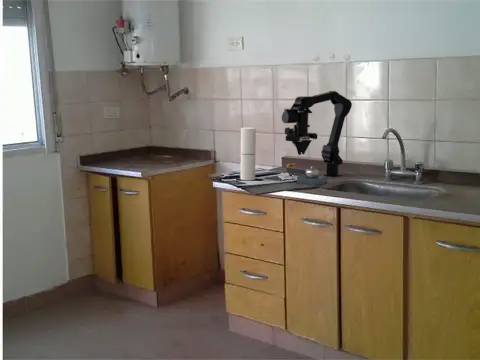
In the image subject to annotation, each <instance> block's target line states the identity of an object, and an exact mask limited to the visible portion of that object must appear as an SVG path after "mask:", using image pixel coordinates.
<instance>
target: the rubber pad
mask: <svg viewBox="0 0 480 360" xmlns="http://www.w3.org/2000/svg"><path fill="white" fill-rule="evenodd" d="M264 179H266V180H273V181H277V180H280V182H282V181H281V180H282V179H281V178H279V177H278V174H277V175H272V176H267V177H264Z"/></svg>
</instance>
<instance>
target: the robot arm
mask: <svg viewBox="0 0 480 360" xmlns="http://www.w3.org/2000/svg"><path fill="white" fill-rule="evenodd" d="M329 101H330V103H331V104H332V105H333V106H334V108H333V110H334V114H335V115H334V119H333V123H332V127H331V131H330V135H329V139H328V142H327V143H326V144H323V146H322V149H321V158H322V159H323V162H324V163H323V164H326V173H324V174H323V176H324V177H335V178H336V177H339V176H342V174H341V173H340V172H339V171H340V170H339V168H340V165H343V159H342V157H341V156H340V148H339V141H340V138H341V134H342V130H343V128H344V122H345V119H346V117H347V116H348V115H349V114H350V113H351V109H352V105H353V103H352V100H350V99H348V98H347V97H345V96H343V95H342V94H340V93H339V92H337V91H336V90H329V91H327V92H326V91H325V92H323V93H319V94H315V95H311V96H309V95H308V96H305V95H304V96H303V95H302V96H300V95H299V96H297V97H295V100H294V103H293V104H292V106H291V107H290V108H284V110H283V112H282V114H281V121H282V123H283V124H294V125H293V128H290V127H284V135H286V136H285V141H286V142H292V143H293V144H294V146H295V147H296V148H295V149H296V152H297V155H298V156H301V155H305V153H306V151H307V149H308V148H309V146H310V144H311V143H312V142H313V140H318V134H317V133H316V132H308V131H309V128H310V126H311V125H310V124H309V114H313V111H312V110H311V109H310V108H312V107H313V106H314V105H317V104H319V103H324V102H329ZM312 139H313V140H312Z"/></svg>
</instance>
